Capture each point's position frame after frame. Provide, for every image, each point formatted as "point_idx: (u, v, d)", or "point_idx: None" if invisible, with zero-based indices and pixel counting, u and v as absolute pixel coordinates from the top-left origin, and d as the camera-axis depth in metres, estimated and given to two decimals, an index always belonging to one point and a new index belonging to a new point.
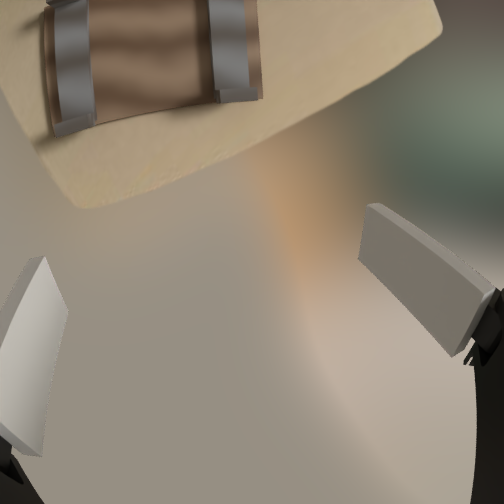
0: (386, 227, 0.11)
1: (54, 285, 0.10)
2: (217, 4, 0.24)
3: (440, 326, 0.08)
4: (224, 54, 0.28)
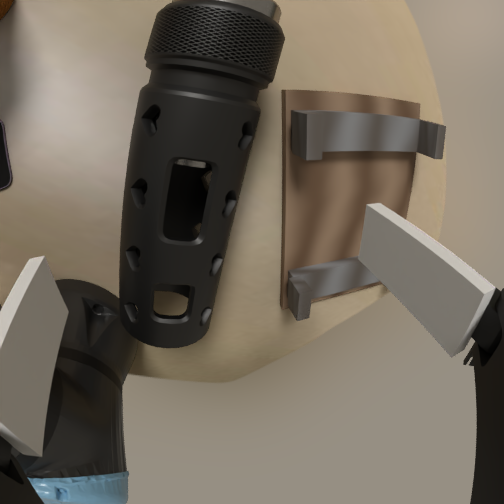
0: (386, 227, 0.11)
1: (54, 285, 0.10)
2: (343, 142, 0.27)
3: (440, 326, 0.08)
4: (392, 139, 0.28)
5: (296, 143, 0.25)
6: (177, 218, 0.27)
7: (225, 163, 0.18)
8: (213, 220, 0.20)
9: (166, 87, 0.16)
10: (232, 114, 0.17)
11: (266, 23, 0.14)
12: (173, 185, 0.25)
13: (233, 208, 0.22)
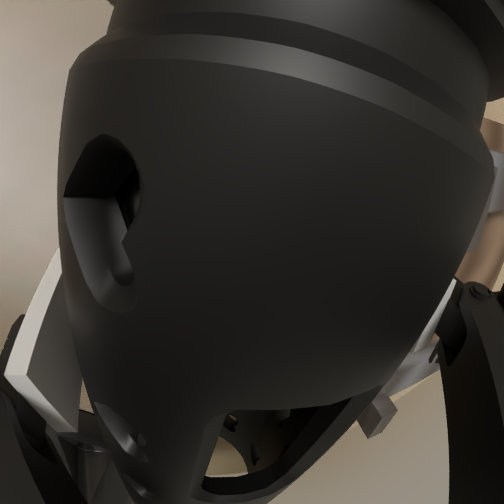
0: None
1: None
2: None
3: None
4: None
5: None
6: None
7: None
8: None
9: (177, 25, 0.02)
10: (480, 214, 0.03)
11: None
12: None
13: None
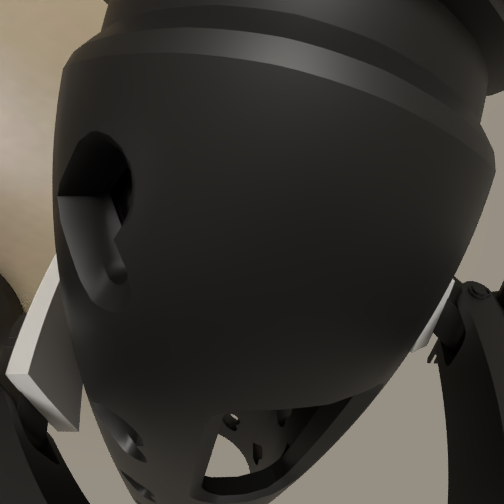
0: None
1: None
2: None
3: None
4: None
5: None
6: None
7: None
8: None
9: (168, 19, 0.02)
10: (481, 208, 0.03)
11: None
12: None
13: None
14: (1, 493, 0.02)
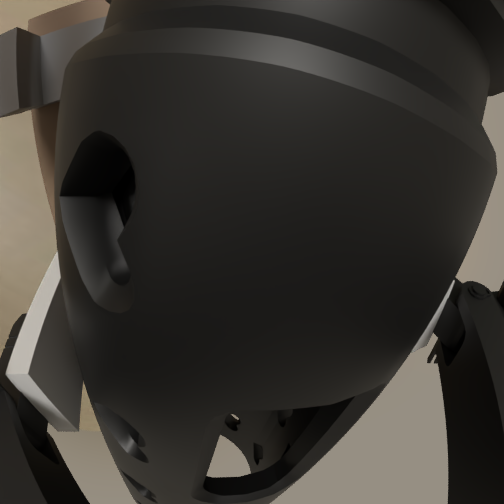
0: None
1: None
2: None
3: None
4: None
5: None
6: None
7: None
8: None
9: (172, 19, 0.02)
10: (483, 209, 0.03)
11: None
12: None
13: None
14: (1, 493, 0.02)
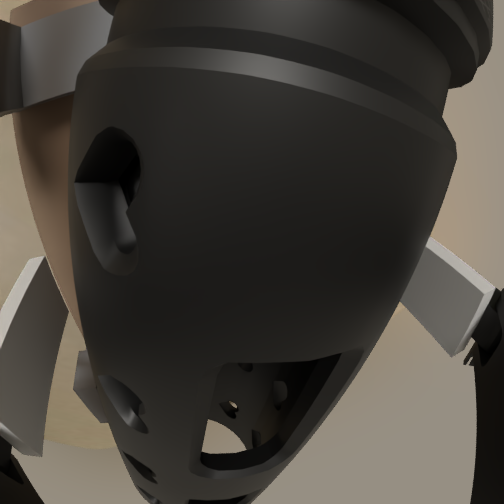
0: None
1: (54, 285, 0.10)
2: None
3: (440, 326, 0.08)
4: None
5: None
6: None
7: (380, 331, 0.06)
8: (316, 427, 0.07)
9: (167, 39, 0.03)
10: (441, 185, 0.04)
11: None
12: None
13: None
14: None
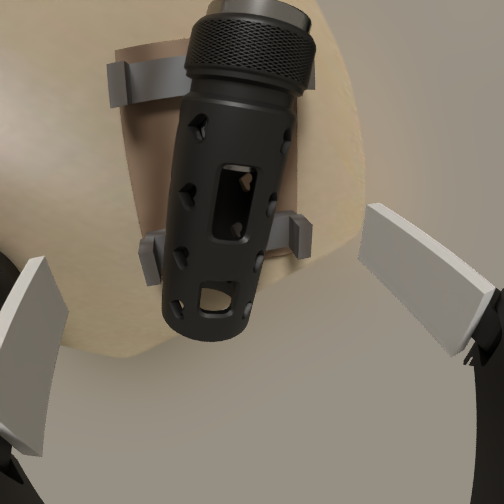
0: (386, 227, 0.11)
1: (54, 285, 0.10)
2: (174, 87, 0.24)
3: (440, 326, 0.08)
4: None
5: None
6: (216, 218, 0.29)
7: (269, 167, 0.20)
8: (258, 220, 0.22)
9: (212, 96, 0.17)
10: (275, 122, 0.18)
11: (302, 36, 0.16)
12: None
13: (274, 208, 0.23)
14: None
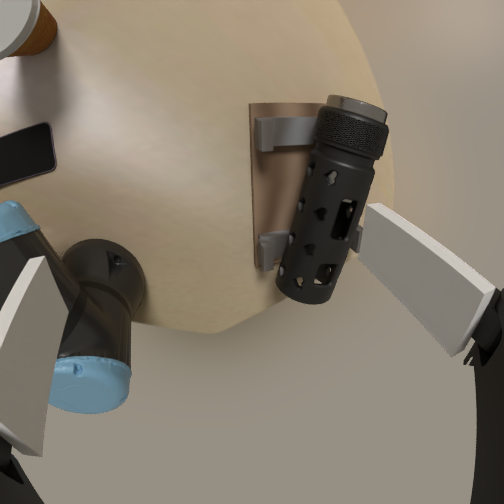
0: (386, 227, 0.11)
1: (54, 285, 0.10)
2: (293, 138, 0.39)
3: (440, 326, 0.08)
4: None
5: (256, 140, 0.37)
6: None
7: (363, 201, 0.36)
8: (353, 229, 0.38)
9: (341, 161, 0.33)
10: (369, 177, 0.34)
11: (386, 129, 0.31)
12: None
13: (358, 222, 0.39)
14: None
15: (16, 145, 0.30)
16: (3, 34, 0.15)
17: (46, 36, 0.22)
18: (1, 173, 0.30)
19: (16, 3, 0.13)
